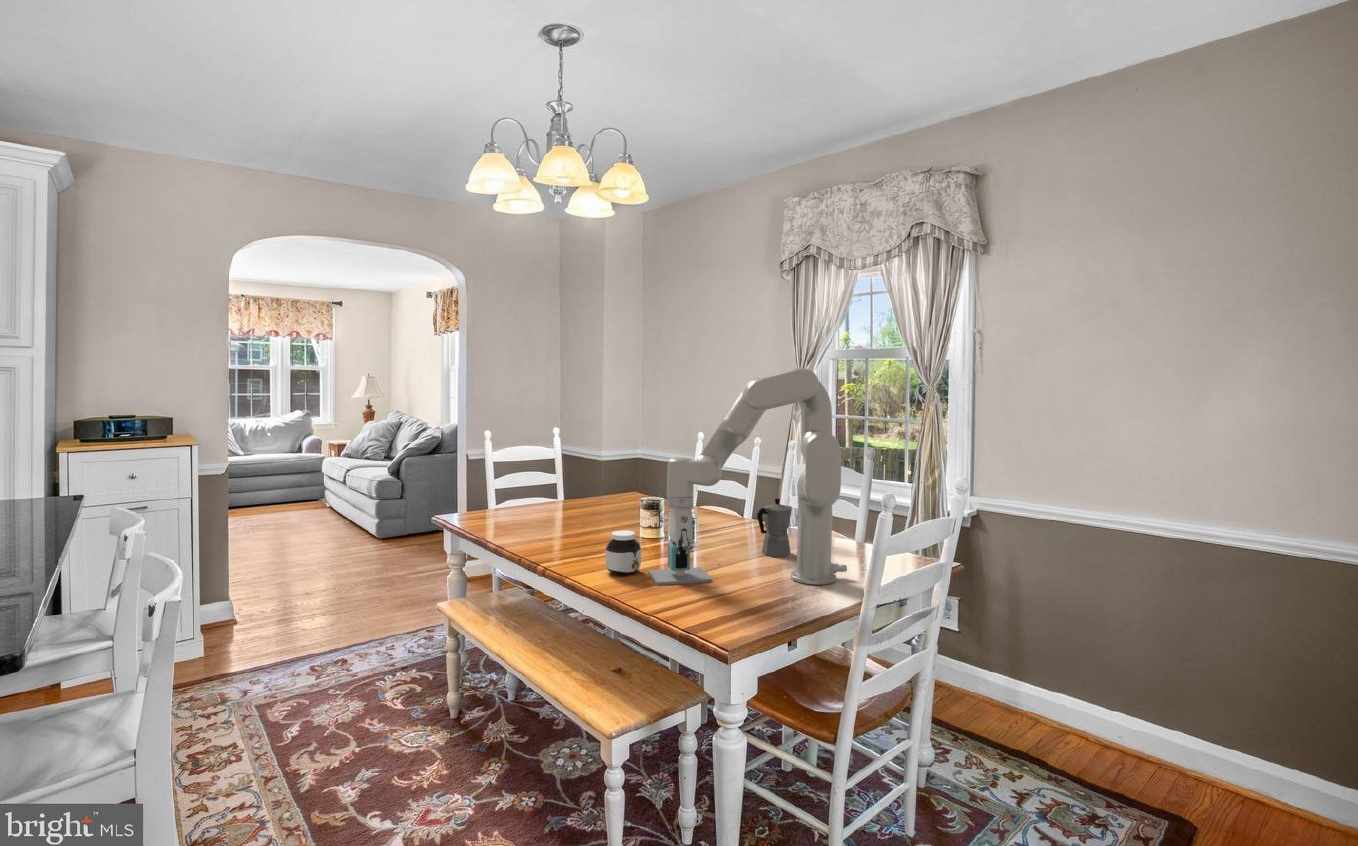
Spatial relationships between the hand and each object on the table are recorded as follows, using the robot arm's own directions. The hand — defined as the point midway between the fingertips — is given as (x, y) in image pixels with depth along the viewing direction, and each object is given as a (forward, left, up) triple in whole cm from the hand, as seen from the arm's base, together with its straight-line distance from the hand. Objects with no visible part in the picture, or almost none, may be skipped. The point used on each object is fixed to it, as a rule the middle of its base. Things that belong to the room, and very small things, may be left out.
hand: (678, 564), depth 199 cm
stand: (0, 0, -4) cm, 4 cm away
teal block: (0, 0, -1) cm, 1 cm away
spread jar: (+15, -10, -4) cm, 18 cm away
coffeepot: (-36, -19, -4) cm, 41 cm away
